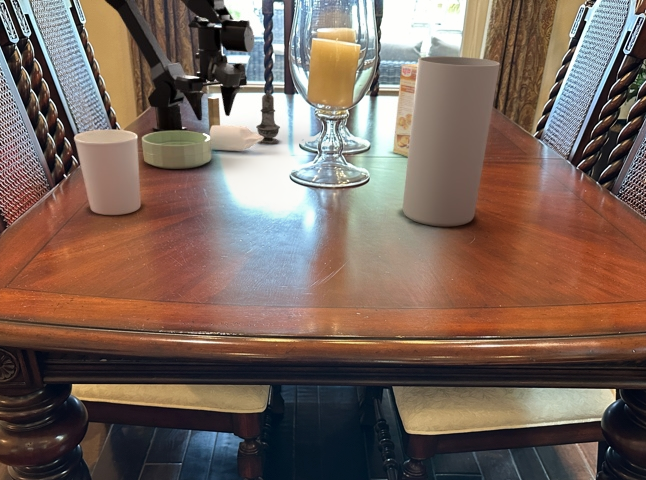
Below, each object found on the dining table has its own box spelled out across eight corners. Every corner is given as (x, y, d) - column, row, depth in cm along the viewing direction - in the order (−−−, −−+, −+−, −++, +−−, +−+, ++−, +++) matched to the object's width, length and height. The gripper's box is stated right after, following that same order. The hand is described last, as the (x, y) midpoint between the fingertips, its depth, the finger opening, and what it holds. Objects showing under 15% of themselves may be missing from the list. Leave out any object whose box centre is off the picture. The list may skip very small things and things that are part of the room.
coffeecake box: (413, 159, 141) (424, 67, 132) (391, 152, 146) (399, 64, 136) (454, 150, 150) (466, 64, 140) (431, 144, 155) (442, 60, 145)
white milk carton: (260, 155, 139) (260, 130, 136) (209, 152, 140) (208, 127, 137) (266, 149, 144) (266, 125, 141) (216, 146, 145) (215, 121, 142)
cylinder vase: (429, 232, 100) (451, 67, 87) (388, 209, 109) (402, 57, 97) (488, 222, 105) (517, 65, 92) (444, 201, 115) (464, 55, 102)
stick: (209, 134, 155) (207, 97, 151) (215, 133, 157) (213, 96, 152) (214, 136, 154) (212, 98, 150) (220, 135, 155) (218, 97, 151)
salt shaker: (281, 139, 153) (281, 88, 147) (278, 145, 148) (278, 92, 142) (258, 138, 154) (257, 87, 148) (254, 143, 149) (253, 91, 143)
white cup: (156, 203, 108) (149, 133, 102) (123, 220, 100) (113, 145, 94) (109, 195, 110) (99, 127, 104) (73, 211, 102) (60, 138, 96)
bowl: (130, 160, 131) (127, 136, 129) (183, 150, 141) (181, 127, 138) (172, 174, 124) (170, 149, 121) (224, 161, 133) (223, 138, 131)
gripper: (202, 55, 135) (206, 128, 143) (262, 51, 147) (262, 118, 155) (170, 50, 141) (176, 120, 149) (230, 46, 153) (232, 111, 161)
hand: (213, 117), depth 153 cm, fingers open, 9 cm apart
